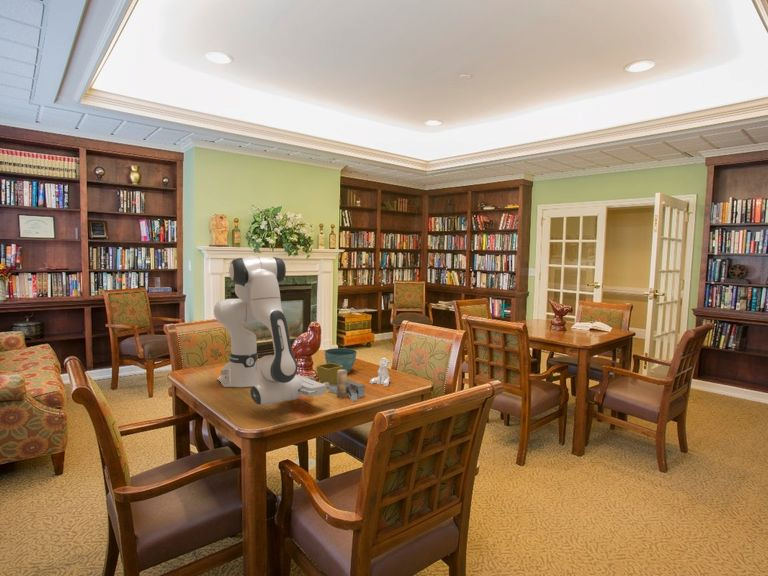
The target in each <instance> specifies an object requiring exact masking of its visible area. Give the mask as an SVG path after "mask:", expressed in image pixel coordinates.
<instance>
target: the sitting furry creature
mask: <svg viewBox="0 0 768 576" xmlns="http://www.w3.org/2000/svg"><path fill="white" fill-rule="evenodd" d="M378 363H379V364H378V365H379V368H378V370H377V377H372V378H371V379H370V380H369V383H371V385H374V384H373V383H377V384H376V385H381V384H383V385H382V386H384V387H385V386H387V387H388V386H389V383H390V379H391V378H390V373H389V369H388V367H389V366H390V364H391V363H392V361H391V360H388V358H386V357H382V358H380V360H379V362H378Z"/></svg>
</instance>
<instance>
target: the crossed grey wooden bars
mask: <svg viewBox="0 0 768 576" xmlns="http://www.w3.org/2000/svg"><path fill="white" fill-rule="evenodd" d="M365 389H366V387H365V384H363V383H360V382H357V381H354V380H352V379H348V378H347V394H348V398H349V399H350V401H351V402H358V399H361V398H364V397H365V395H366V394H365V393H366V392H365V391H366V390H365ZM328 393H331V394H337V385H334V384H330V385H329V387H328ZM360 397H361V398H360Z"/></svg>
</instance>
